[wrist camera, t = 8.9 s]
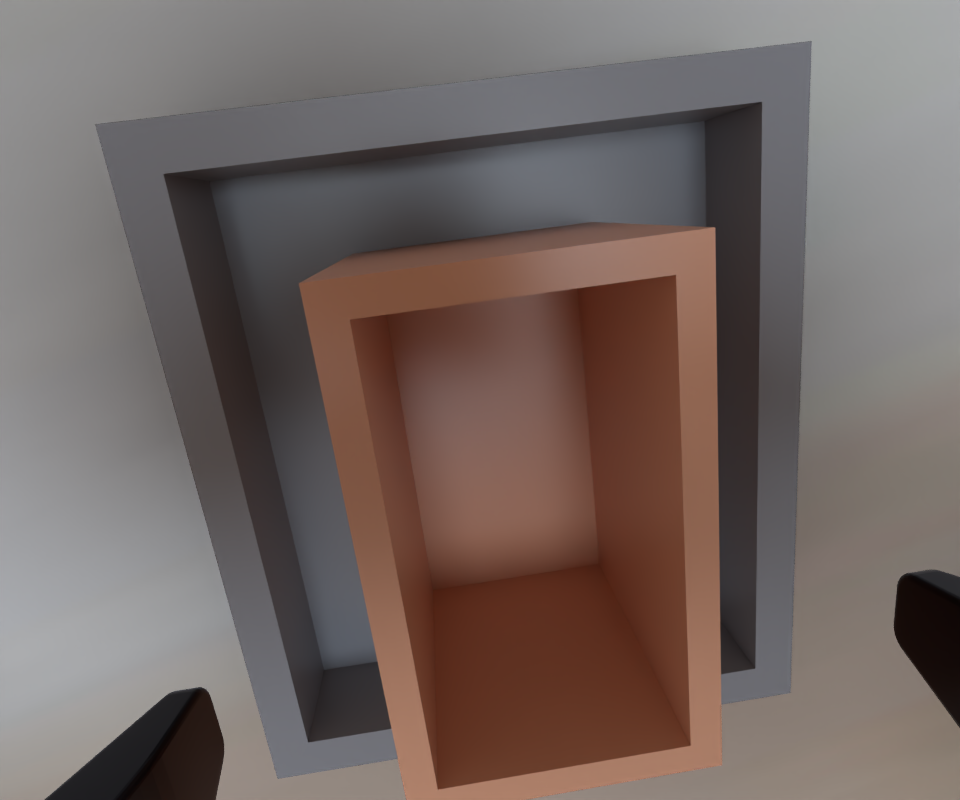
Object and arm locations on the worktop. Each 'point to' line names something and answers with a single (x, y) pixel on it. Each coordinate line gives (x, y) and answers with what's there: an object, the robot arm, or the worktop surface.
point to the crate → (437, 218)
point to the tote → (533, 500)
